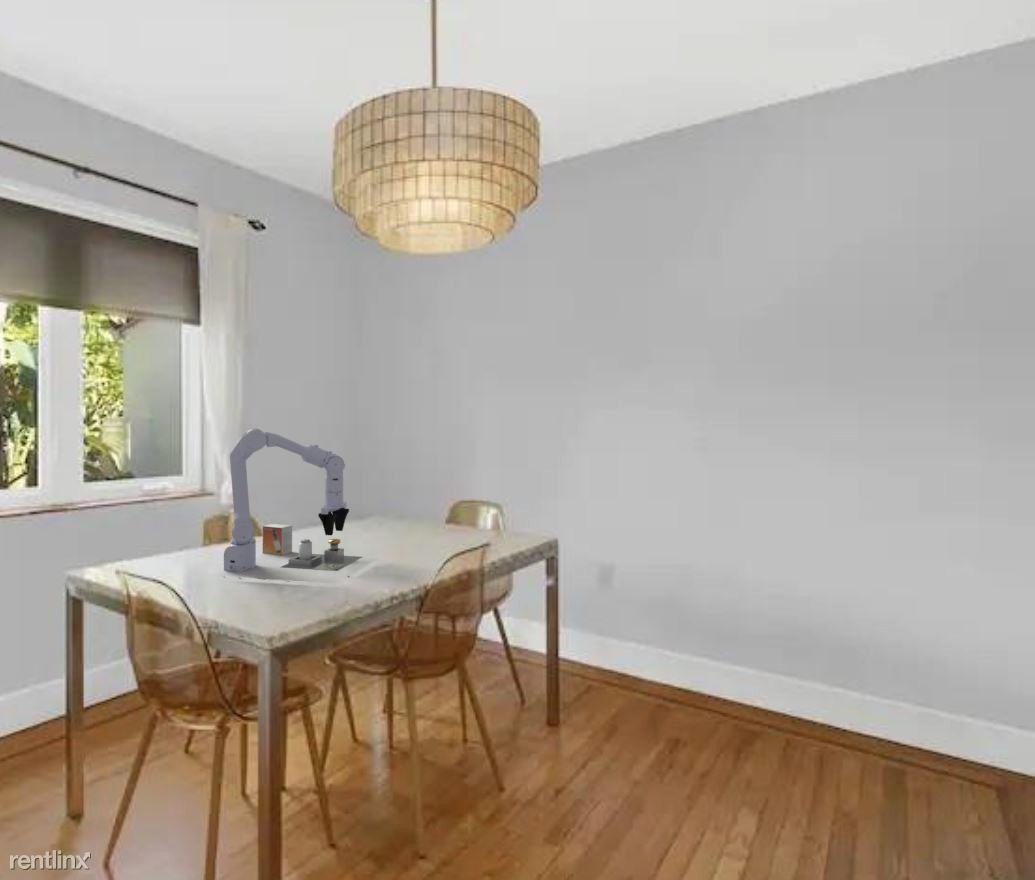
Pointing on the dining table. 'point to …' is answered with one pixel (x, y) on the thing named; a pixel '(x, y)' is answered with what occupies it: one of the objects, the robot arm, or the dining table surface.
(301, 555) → the cylinder
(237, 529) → the robot arm
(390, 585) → the dining table surface
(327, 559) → the housing
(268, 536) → the small box
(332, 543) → the plunger
